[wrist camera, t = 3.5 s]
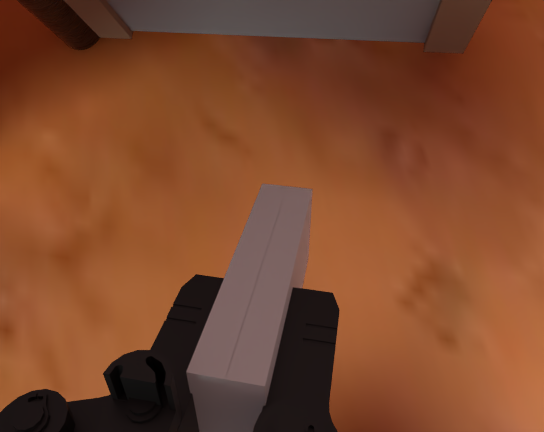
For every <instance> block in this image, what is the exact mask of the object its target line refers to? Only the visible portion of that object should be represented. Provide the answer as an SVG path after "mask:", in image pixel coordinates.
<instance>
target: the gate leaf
mask: <svg viewBox="0 0 544 432" xmlns="http://www.w3.org/2000/svg"><path fill="white" fill-rule="evenodd" d="M64 1H65V2H66V3H67V4H68V5H69V6H70V7H71V8H72V9H73V10H74V11H75V12H76V13H77V14H78V15H79V16H80V17H81V18H82V19H83V21H84V22H85V23H86V24H87V25H88V26H89V27H90V28H91V29H92V30H93V31H94V32H95V33H96V34H97V35H98V36H99V37H100V38H121V39H132V34H133V31H149V32H174V33H198V34H222V35H247V36H271V37H296V38H320V39H344V40H369V41H393V42H418V43H424V51H423V52H439V53H462V54H463V53H464V51H465V49H466V47H467V45H468V43H469V42H470V40H471V38H472V36H473V34H474V32H475V30H476V29H477V27H478V25H479V23H480V21H481V19H482V18H483V16H484V14H485V12H486V10H487V8H488V7H489V5H490V3H491V1H492V0H64Z"/></svg>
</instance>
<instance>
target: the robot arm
mask: <svg viewBox="0 0 544 432" xmlns="http://www.w3.org/2000/svg"><path fill="white" fill-rule="evenodd" d="M311 205H312V189H307V188H298V187H289V186H279V185H270V184H262V186H261V188H260V191H259V193H258V196H257V198H256V201H255V203H254V206H253V208H252V211H251V213H250V216H249V218H248V220H247V223H246V225H245V228H244V230H243V233H242V235H241V238H240V240H239V243H238V245H237V248H236V250H235V253H234V255H233V258H232V260H231V263H230V265H229V267H228V270H227V272H226V275H225V277H224V278H217V277H210V276H203V275H197V274H196V275H195V276H194V277H193V278H192V279H190V280H189V281H188V282H187V283H186V284H185V285H184V286H183V287H181V289H180V291H179V293H178V295H177V297H176V299H175V301H174V303H173V307H171V309H170V311H169V313H168V315H167V319H166V321H164V323H163V326H162V328H161V330H160V332H159V334H158V336H157V338H156V340H155V342H154V344H153V346H152V348H151V350H137V351H134V352H130V353H127V354H124V355H123V356H121V357H120V358H118V359H117V360H115V361H114V362H112V363H111V364H110V366H109V367H108V368H107V369H106V371H105V372H104V373H103V375H104V377H105V380H106V383H107V385H108V388H109V391H110V393H111V395H109V396H104V397H100V398H94V399H86V400H79V401H71V402H66V400H65V398H63V397H62V396H61V395H60V394H59V393H58V392H56V391H52V390H48V389H43V390H35V391H31V392H29V393H27V394H24V395H22V396H20V397H18V398H17V399H15V400H14V401H13V402H11V403H10V404H9V405H8V406H6V407H5V408H4V409H3V410H2V411H1V412H0V432H337V430H336V428H335V426H334V425H333V423H332V420H331V416H330V413H329V398H330V389H331V381H332V372H333V363H334V354H335V345H336V336H337V327H338V318H339V308H338V305H337V303H336V300H335V297H334V295H333V293H330V292H323V291H316V290H309V289H302V286H303V282H304V277H305V272H306V267H307V262H308V255H309V238H310V221H311Z"/></svg>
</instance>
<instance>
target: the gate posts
mask: <svg viewBox="0 0 544 432" xmlns="http://www.w3.org/2000/svg"><path fill="white" fill-rule="evenodd" d="M17 1H18V2H19V3H21V4H22V5H23V6H24V7H25V8H26V9H27V10H29V11H30V12H31V13H32V14H33V15H34V16H35V17H37V18H38V19H39V20H40V21H41V22H42V23H43V24H45V25H46V26H47V27H48V28H49V29H50V30H51V31H53V32H54V33H55V34H56V35H57V36H58V37H59V38H61V39H62V40H63V41H64V42H65V43H66V44H67V45H69V46H70V47H71V48H73V49H77V50H83V49H87V48H89V47H91V46H93V45H94V44H95V43H96V42H97V41H98V39H99V38H100V37H99V36H98V35H97V34H96V33H95V32H94V31H93V30H92V29H91V28H90V27H89V26H88V25H87V24H86V23H85V22H84V21H83V19H82V18H81V17H80V16H79V15H78V14H77V13H76V12H75V11H74V10H73V9H72V8H71V7H70V6H69V5H68V4H67V3H66V2H65V1H64V0H17Z"/></svg>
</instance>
